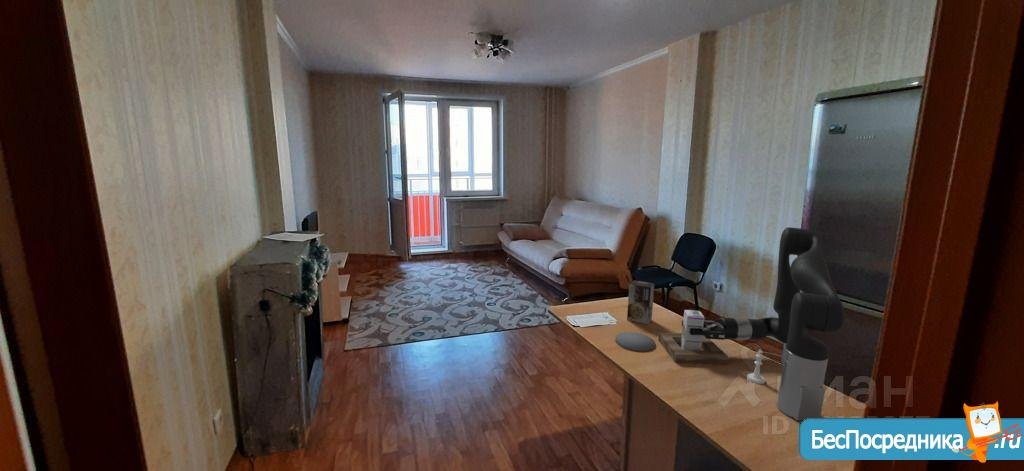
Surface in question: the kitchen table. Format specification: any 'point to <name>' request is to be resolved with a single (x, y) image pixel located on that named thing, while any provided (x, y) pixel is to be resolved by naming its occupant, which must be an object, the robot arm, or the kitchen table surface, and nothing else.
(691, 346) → the syrup box
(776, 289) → the robot arm
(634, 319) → the coffee box
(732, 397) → the kitchen table surface
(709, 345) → the walnut holder
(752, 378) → the chess piece
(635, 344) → the slate mat
